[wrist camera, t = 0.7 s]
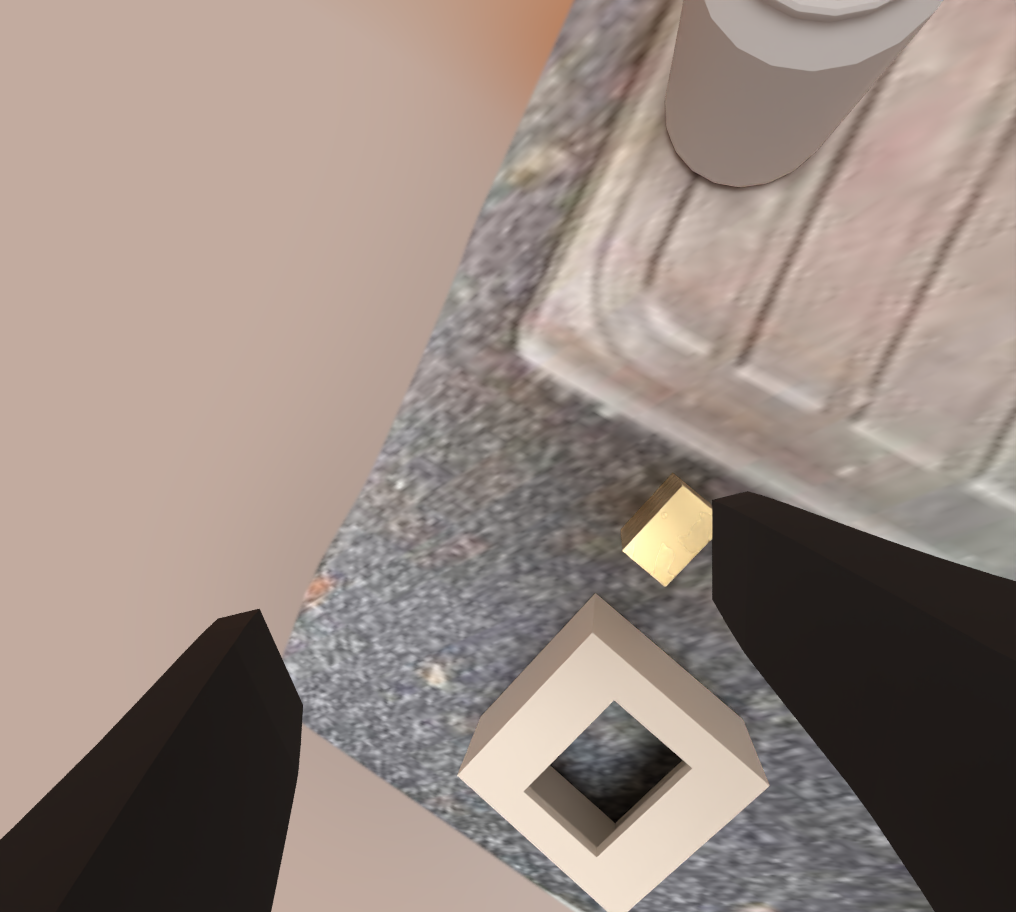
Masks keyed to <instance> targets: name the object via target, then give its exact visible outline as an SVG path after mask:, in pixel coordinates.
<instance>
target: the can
mask: <svg viewBox="0 0 1016 912" xmlns="http://www.w3.org/2000/svg"><path fill="white" fill-rule="evenodd" d="M942 1H943V0H684V1H683V6H682V12H681V17H680V22H679V28H678V33H677V39H676V44H675V49H674V55H673V60H672V66H671V71H670V76H669V82H668V87H667V93H666V98H665V111H666V128H667V131H668V133H669V136H670V138H671V141H672V144H673V146H674V149H675V151H676V153H677V154H678V155H679V156H680V157H681V158H682V159H683V161H684V162H685V163H686V164H687V165H688V166H689V168H690V169H691V170H692V171H694V172H696V173H698V174H699V175H701V176H703V177H705V178H706V179H708V180H710V181H712V182H714V183H718V184H724V185H730V186H736V187H745V186H752V185H759V184H766V183H769V182H771V181H774V180H776V179H778V178H780V177H782V176H784V175H786V174H789V173H791V172H793V171H794V170H796V169H797V168H798V167H799V166H800V165H801V164H802V163H804V162H805V161H806V160H807V159H808V158H809V157H811V156H812V155H813V154H814V153H815V152H816V151H817V150H818V149H819V148H820V146H821V145H822V144H823V143H824V142H825V141H826V139H827V138H828V137H829V136H830V135H831V134H832V132H833V131H834V130H835V129H836V128H837V127H838V125H839V124H840V123H841V122H842V121H843V119H844V118H845V117H846V116H847V115H848V114H849V112H850V111H851V110H852V109H853V108H854V107H855V105H856V104H857V103H858V102H859V101H860V100H861V98H862V97H863V96H864V95H865V94H866V92H867V91H868V90H869V89H870V88H871V87H872V85H873V84H874V83H875V82H876V81H877V80H878V78H879V77H880V76H881V75H882V74H883V73H884V71H885V70H886V69H887V68H888V67H889V65H890V64H891V63H892V62H893V61H894V60H895V58H896V57H897V56H898V55H899V54H900V53H901V51H902V50H903V49H904V48H905V47H906V46H907V44H908V43H909V42H910V41H911V40H912V38H913V37H914V36H915V35H916V34H917V33H918V31H919V30H920V29H921V28H922V27H923V26H924V24H925V23H926V22H927V21H928V20H929V19H930V17H931V16H932V15H933V14H934V13H935V11H936V10H937V9H938V7H939V6H940V4H941V3H942Z"/></svg>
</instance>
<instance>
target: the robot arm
mask: <svg viewBox="0 0 1016 912" xmlns="http://www.w3.org/2000/svg"><path fill="white" fill-rule="evenodd" d="M712 600H713V601H714V603H715V605H716V607H717V608H718V610H719V612H720V613H721V615H722V617H723V619H724V620H725V622H726V624H727V625H728V627H729V629H730V630H731V632H732V634H733V635H734V637H735V638H736V640H737V642H738V643H739V645H740V646H741V648H742V650H743V651H744V653H745V654H746V655H747V657H748V658H749V659H750V661H751V662H752V663H753V665H754V666H755V667H756V669H757V670H758V671H759V672H760V674H761V675H762V676H763V677H764V679H765V680H766V681H767V683H768V684H769V685H770V686H771V688H772V689H773V690H774V691H775V693H776V694H777V695H778V697H779V698H780V699H781V700H782V702H783V703H784V704H785V705H786V707H787V708H788V709H789V710H790V712H791V713H792V714H793V715H794V717H795V718H796V719H797V720H798V722H799V723H800V724H801V725H802V727H803V728H804V729H805V730H806V732H807V733H808V734H809V735H810V737H811V738H812V739H813V740H814V742H815V743H816V744H817V746H818V747H819V748H820V749H821V751H822V752H823V753H824V754H825V756H826V757H827V758H828V759H829V761H830V762H831V763H832V764H833V766H834V767H835V768H836V769H837V771H838V772H839V773H840V774H841V776H842V777H843V778H844V779H845V781H846V782H847V783H848V785H849V786H850V787H851V789H852V790H853V791H854V793H855V794H856V795H857V797H858V798H859V799H860V801H861V802H862V804H863V805H864V806H865V808H866V809H867V810H868V812H869V813H870V814H871V816H872V817H873V819H874V820H875V822H876V823H877V825H878V826H879V828H880V829H881V831H882V832H883V834H884V835H885V837H886V838H887V840H888V841H889V843H890V844H891V846H892V847H893V849H894V850H895V852H896V853H897V855H898V856H899V858H900V859H901V861H902V862H903V864H904V865H905V867H906V868H907V870H908V871H909V873H910V874H911V876H912V877H913V879H914V880H915V882H916V883H917V885H918V886H919V888H920V889H921V891H922V892H923V894H924V895H925V897H926V899H927V900H928V902H929V903H930V905H931V906H932V908H933V910H934V911H935V912H1016V581H1013V580H1009V579H1006V578H1002V577H999V576H996V575H992V574H989V573H986V572H983V571H980V570H977V569H973V568H970V567H967V566H964V565H961V564H957V563H954V562H951V561H948V560H945V559H942V558H938V557H935V556H932V555H929V554H926V553H923V552H920V551H917V550H914V549H911V548H908V547H905V546H903V545H900V544H897V543H894V542H891V541H888V540H885V539H883V538H880V537H877V536H874V535H871V534H869V533H866V532H863V531H860V530H857V529H855V528H852V527H849V526H846V525H844V524H841V523H838V522H835V521H833V520H830V519H827V518H825V517H822V516H819V515H816V514H814V513H811V512H808V511H805V510H803V509H800V508H797V507H794V506H792V505H789V504H786V503H783V502H780V501H777V500H774V499H771V498H768V497H765V496H762V495H759V494H755V493H751V492H748V491H747V492H743V493H739V494H735V495H731V496H727V497H722V498H718V499H714V500H712ZM302 714H303V704H302V702H301V700H300V697H299V695H298V693H297V691H296V689H295V686H294V684H293V682H292V680H291V678H290V675H289V673H288V671H287V669H286V666H285V664H284V662H283V660H282V658H281V655H280V653H279V651H278V649H277V646H276V644H275V642H274V640H273V638H272V635H271V633H270V631H269V629H268V627H267V624H266V622H265V620H264V618H263V615H262V613H261V611H260V609H257V610H252V611H248V612H244V613H239V614H235V615H232V616H227V617H223V618H219V619H217V620H216V621H215V622H214V623H213V624H212V625H211V626H210V627H208V628H207V629H206V630H205V631H204V632H203V633H202V634H201V635H200V636H199V637H198V639H196V641H195V642H193V644H192V645H191V646H190V647H189V648H188V649H187V650H186V651H185V652H184V653H183V654H182V655H181V656H180V657H179V658H178V659H177V660H176V661H175V663H173V665H172V666H171V667H170V668H169V669H168V670H167V671H166V672H165V673H164V674H163V676H161V677H160V678H159V679H158V681H157V682H156V683H155V684H154V685H153V686H152V687H151V688H150V689H149V690H148V691H147V692H146V693H145V694H144V695H143V697H142V698H141V699H140V700H139V701H138V702H137V703H136V704H135V705H134V706H133V707H132V708H131V709H130V710H129V711H128V712H127V713H126V714H125V715H124V716H123V718H122V719H121V720H120V721H119V722H118V723H117V724H116V725H115V726H114V727H113V728H112V729H111V730H110V731H109V732H108V733H107V734H106V735H105V737H104V738H103V739H102V740H101V741H100V742H99V743H98V744H97V745H96V746H95V747H94V748H93V749H92V750H91V751H90V752H89V753H88V754H87V755H86V756H85V757H84V758H83V759H82V760H81V761H80V762H79V763H78V764H77V765H76V766H75V767H74V768H73V769H72V770H71V771H70V772H69V773H68V774H67V775H66V776H65V777H64V778H63V779H62V780H61V781H60V782H59V783H58V784H57V785H56V786H55V787H54V788H52V790H51V791H50V792H49V793H47V794H46V795H45V796H44V797H43V798H42V799H41V801H39V803H37V804H36V805H35V806H34V808H32V809H31V810H30V811H29V812H28V813H27V814H26V815H25V816H24V817H23V818H22V819H21V820H20V821H19V823H17V824H16V825H15V826H14V827H13V828H12V829H11V830H10V831H9V832H8V833H7V834H6V835H5V836H4V837H3V838H2V839H0V912H271V909H272V905H273V899H274V895H275V889H276V885H277V879H278V875H279V870H280V864H281V860H282V855H283V850H284V845H285V840H286V835H287V830H288V824H289V819H290V814H291V809H292V804H293V798H294V793H295V788H296V783H297V777H298V769H299V758H300V746H301V731H302Z"/></svg>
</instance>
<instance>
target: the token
mask: <svg viewBox="0 0 1016 912" xmlns="http://www.w3.org/2000/svg"><path fill="white" fill-rule="evenodd" d="M711 539H712V505H711V504H710V503H709V502H708V501H706V500H705V499H704V498H703V497H702V496H700V495H699V494H698V493H697V492H696V491H694V490H693V489H692V488H691V487H689V486H688V485H687V484H686V483H685V482H683V481H682V480H681V479H680V478H679V477H677V476H676V475H675V474H674V473H672V474H671V475H670V476H669V477H668V478H667V480H666V481H665V482H664V483H663V484H662V485H661V486H660V487H659V488H658V489H657V490H656V492H655V493H654V494H653V495H652V496H651V497H650V498H649V499H648V500H647V501H646V503H645V504H644V505H643V506H642V507H641V508H640V509H639V510H638V511H637V512H636V514H635V515H634V516H633V517H632V518H631V519H630V520H629V521H628V522H627V523H626V524H625V526H624V527H623V528H622V529H621V540H622V551H623V552H624V553H626V554H627V555H628V556H629V557H630V558H632V559H633V560H634V561H635V562H636V563H637V564H639V565H640V566H641V567H642V568H643V569H645V570H646V571H647V572H648V573H649V574H650V575H652V576H653V577H654V578H655V579H656V580H657V581H659V582H660V583H661V584H662V585H663V586H665V587H666V586H667V585H668V584H669V583H670V582H671V581H672V580H673V579H674V577H675V576H676V575H677V574H678V573H679V572H680V571H681V570H682V569H683V568H684V567H685V566H686V565H687V564H688V563H689V562H690V561H691V560H692V559H693V558H694V557H695V556H696V555H697V554H698V552H699V551H700V550H701V549H702V548H703V547H704V546H705V545H706V544H707V543H708V542H709V541H710V540H711Z"/></svg>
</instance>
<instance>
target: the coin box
mask: <svg viewBox="0 0 1016 912" xmlns="http://www.w3.org/2000/svg"><path fill="white" fill-rule="evenodd" d="M614 700H615V701H616V702H617V703H618V704H619V705H620V706H621V707H623V708H624V709H625V710H626V711H627V712H628V713H629V714H631V715H632V716H633V717H634V718H635V719H636V720H637V721H639V722H640V723H641V724H642V725H643V726H644V727H646V728H647V729H648V730H649V731H650V732H651V733H652V734H654V735H655V736H656V737H657V738H658V739H659V740H660V741H662V742H663V743H664V744H665V745H666V746H667V747H668V748H670V749H671V750H672V751H673V752H674V753H675V754H677V755H678V756H679V757H680V758H681V759H682V761H681V762H680V763H679V764H678V765H677V766H676V767H674V768H673V769H672V770H671V771H670V772H669V773H668V774H667V775H666V776H665V777H664V778H663V779H662V780H661V781H660V782H658V783H657V784H656V785H655V786H654V787H653V788H652V789H651V790H650V791H649V792H648V793H647V794H646V795H645V796H644V797H643V798H641V799H640V800H639V801H638V802H637V803H636V804H635V805H634V806H633V807H632V808H631V809H630V810H629V811H628V812H627V813H625V814H624V815H623V816H622V817H621V818H620V819H619V820H618V821H617V822H616V823H614V822H613V821H612V820H611V819H610V818H609V817H608V816H606V815H605V814H604V813H603V812H602V811H601V810H600V809H599V808H597V807H596V806H595V805H594V804H593V803H592V802H591V801H590V800H588V799H587V798H586V797H585V796H584V795H583V794H582V793H581V792H579V791H578V790H577V789H576V788H575V787H574V786H573V785H572V784H570V783H569V782H568V781H567V780H566V779H565V778H564V777H563V776H562V775H560V774H559V773H558V772H557V771H556V770H555V769H554V768H553V767H551V766H550V764H551V763H552V762H553V761H554V760H555V759H556V758H557V757H558V756H559V755H560V754H561V753H562V752H563V751H564V750H565V749H566V748H567V747H568V746H569V745H570V744H571V743H572V742H573V741H574V740H575V739H576V738H577V737H578V736H579V735H580V734H581V733H582V732H583V731H584V730H585V729H586V728H587V727H588V726H589V725H590V724H591V723H592V722H593V721H594V720H595V719H596V718H597V717H598V716H599V715H600V714H601V713H602V712H603V711H604V710H605V709H606V708H607V707H608V706H609V705H610V704H611V703H612V702H613V701H614ZM457 776H458V777H459V778H461V779H462V780H463V781H464V782H465V783H466V784H467V785H468V786H469V787H470V788H472V789H473V790H474V791H475V792H476V793H477V794H478V795H479V796H480V797H482V798H483V799H484V800H485V801H486V802H487V803H488V804H489V805H490V806H491V807H493V808H494V809H495V810H496V811H497V812H498V813H499V814H500V815H501V816H503V817H504V818H505V819H506V820H507V821H508V822H509V823H510V824H511V825H512V826H514V827H515V828H516V829H517V830H518V831H519V832H520V833H521V834H522V835H524V836H525V837H526V838H527V839H528V840H529V841H530V842H531V843H532V844H533V845H535V846H536V847H537V848H538V849H539V850H540V851H541V852H542V853H543V854H545V855H546V856H547V857H548V858H549V859H550V860H551V861H552V862H553V863H554V864H556V865H557V866H558V867H559V868H560V869H561V870H562V871H563V872H564V873H565V874H567V875H568V876H569V877H570V878H571V879H572V880H573V881H574V882H575V883H577V884H578V885H579V886H580V887H581V888H582V889H583V890H584V891H585V892H586V893H588V894H589V895H590V896H591V897H592V898H593V899H594V900H595V901H596V902H598V903H599V904H600V905H601V906H602V907H603V908H604V909H605V910H606V911H607V912H627V911H629V910H630V909H631V908H632V907H633V906H634V905H635V904H637V903H638V902H639V901H640V900H641V899H642V898H643V897H644V896H646V895H647V894H648V893H649V892H650V891H651V890H652V889H653V888H655V887H656V886H657V885H658V884H659V883H660V882H661V881H663V880H664V879H665V878H666V877H667V876H668V875H669V874H670V873H672V872H673V871H674V870H675V869H676V868H677V867H678V866H679V865H681V864H682V863H683V862H684V861H685V860H686V859H687V858H689V857H690V856H691V855H692V854H693V853H694V852H695V851H696V850H698V849H699V848H700V847H701V846H702V845H703V844H704V843H705V842H707V841H708V840H709V839H710V838H711V837H712V836H713V835H715V834H716V833H717V832H718V831H719V830H720V829H721V828H722V827H724V826H725V825H726V824H727V823H728V822H729V821H730V820H731V819H733V818H734V817H735V816H736V815H737V814H738V813H739V812H741V811H742V810H743V809H744V808H745V807H746V806H747V805H748V804H750V803H751V802H752V801H753V800H754V799H755V798H756V797H757V796H759V795H760V794H761V793H762V792H763V791H764V790H765V789H767V788H768V787H769V786H770V785H769V783H768V780H767V778H766V775H765V773H764V770H763V768H762V765H761V763H760V760H759V758H758V756H757V753H756V751H755V748H754V746H753V743H752V741H751V738H750V736H749V733H748V731H747V728H746V726H745V723H744V721H743V719H742V718H741V717H740V716H738V715H737V714H736V713H735V712H734V711H733V710H731V709H730V708H729V707H728V706H727V705H726V704H724V703H723V702H722V701H721V700H720V699H719V698H717V697H716V696H715V695H714V694H713V693H712V692H710V691H709V690H708V689H707V688H706V687H705V686H703V685H702V684H701V683H700V682H699V681H698V680H696V679H695V678H694V677H693V676H692V675H691V674H689V673H688V672H687V671H686V670H685V669H684V668H682V667H681V666H680V665H679V664H678V663H677V662H675V661H674V660H673V659H672V658H671V657H670V656H668V655H667V654H666V653H665V652H664V651H663V650H661V649H660V648H659V647H658V646H657V645H656V644H654V643H653V642H652V641H651V640H650V639H649V638H647V637H646V636H645V635H644V634H643V633H642V632H640V631H639V630H638V629H637V628H636V627H635V626H633V625H632V624H631V623H630V622H629V621H628V620H626V619H625V618H624V617H623V616H622V615H621V614H619V613H618V612H617V611H616V610H615V609H614V608H612V607H611V606H610V605H609V604H608V603H607V602H605V601H604V600H603V599H602V598H601V597H600V596H598V595H597V594H596V593H595V594H594V595H593V596H592V597H591V598H590V599H589V600H588V601H587V603H586V604H585V605H584V606H583V607H582V608H581V609H580V610H579V611H578V612H577V613H576V614H575V615H574V617H573V618H572V619H571V620H570V621H569V622H568V623H567V624H566V625H565V626H564V627H563V628H562V630H561V631H560V632H559V633H558V634H557V635H556V636H555V637H554V638H553V639H552V640H551V641H550V642H549V644H548V645H547V646H546V647H545V648H544V649H543V650H542V651H541V652H540V653H539V654H538V655H537V656H536V658H535V659H534V660H533V661H532V662H531V663H530V664H529V665H528V666H527V667H526V668H525V669H524V670H523V672H522V673H521V674H520V675H519V676H518V677H517V678H516V679H515V680H514V681H513V682H512V683H511V684H510V686H509V687H508V688H507V689H506V690H505V691H504V692H503V693H502V694H501V695H500V696H499V697H498V699H497V700H496V701H495V702H494V703H493V704H492V705H491V706H490V707H489V708H488V709H487V710H486V711H485V713H484V714H483V715H482V716H481V717H480V720H479V722H478V725H477V727H476V730H475V732H474V735H473V737H472V740H471V742H470V745H469V747H468V750H467V752H466V755H465V757H464V760H463V762H462V765H461V767H460V770H459V772H458V775H457Z"/></svg>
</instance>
